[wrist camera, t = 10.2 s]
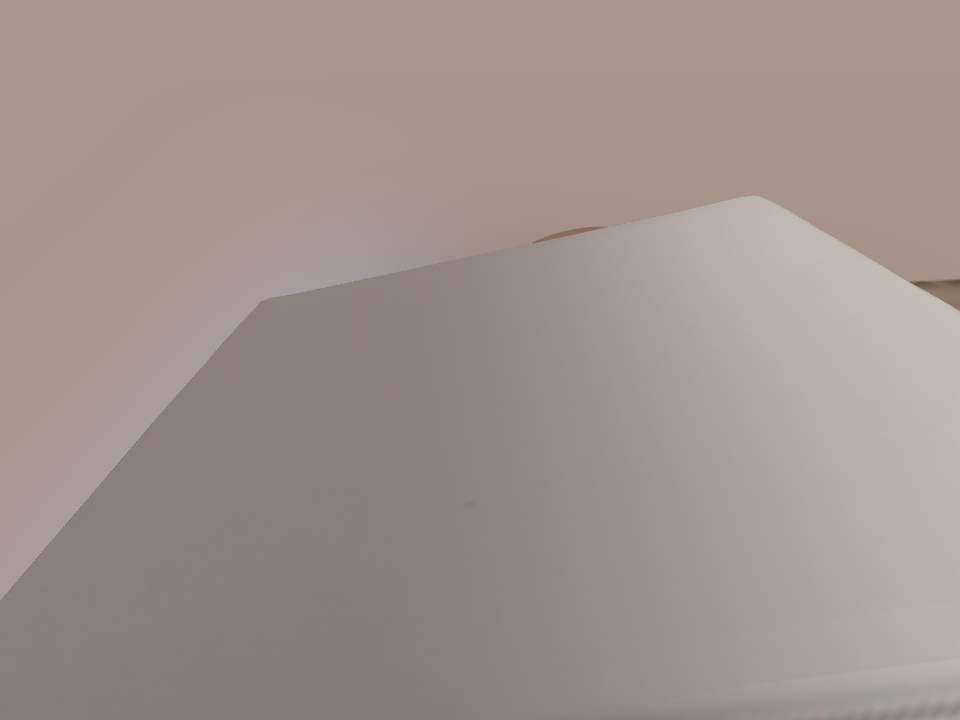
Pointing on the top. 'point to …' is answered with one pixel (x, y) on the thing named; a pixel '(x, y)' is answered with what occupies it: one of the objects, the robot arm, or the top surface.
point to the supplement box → (534, 498)
